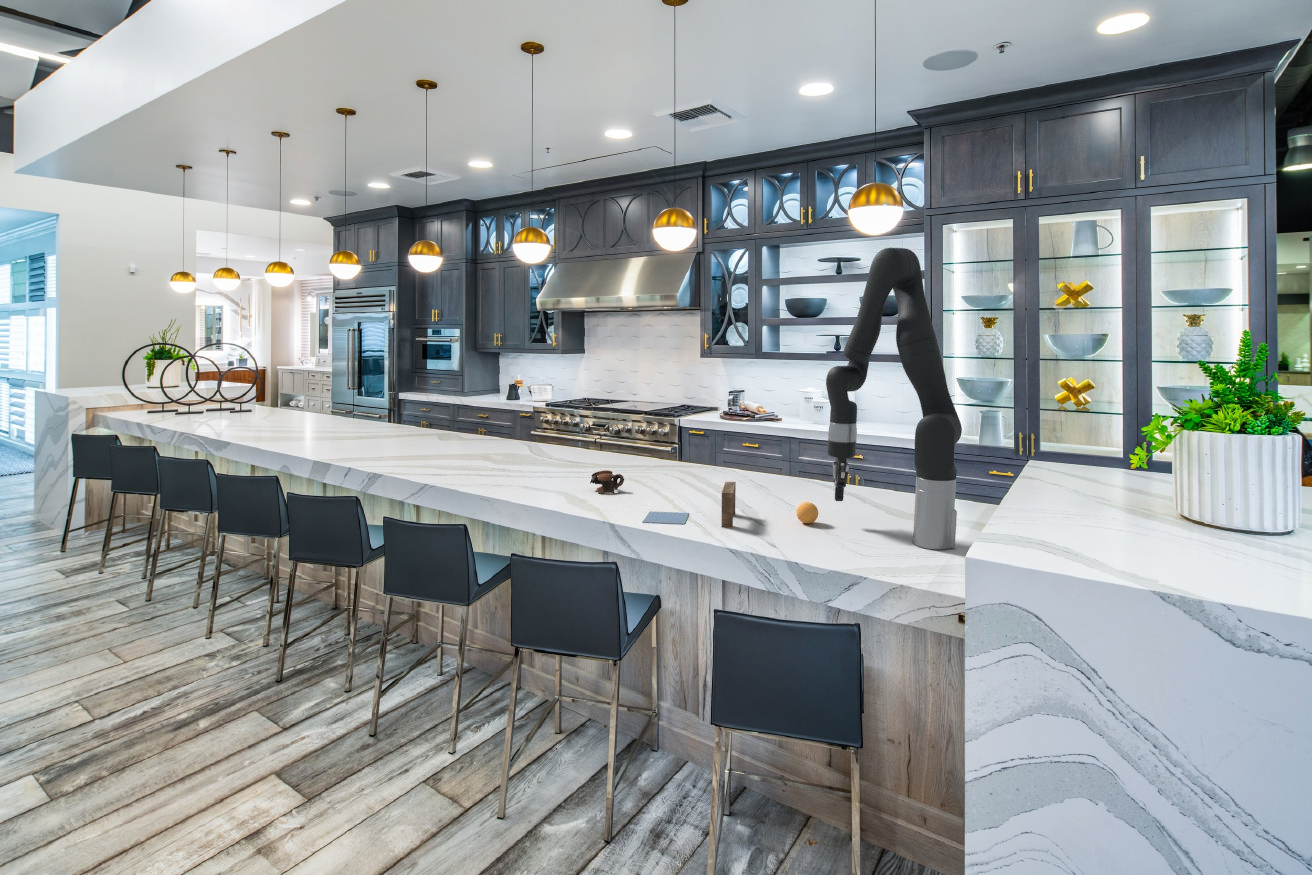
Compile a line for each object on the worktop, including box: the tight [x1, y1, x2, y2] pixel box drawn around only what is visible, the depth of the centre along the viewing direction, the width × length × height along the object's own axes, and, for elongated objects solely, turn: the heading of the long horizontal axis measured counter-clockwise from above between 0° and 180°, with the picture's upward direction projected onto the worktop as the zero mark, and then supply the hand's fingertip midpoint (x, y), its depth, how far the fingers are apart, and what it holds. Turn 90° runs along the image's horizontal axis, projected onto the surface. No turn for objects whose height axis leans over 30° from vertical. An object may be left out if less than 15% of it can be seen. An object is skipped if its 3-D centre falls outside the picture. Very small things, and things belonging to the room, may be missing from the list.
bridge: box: [721, 481, 737, 528], centre depth 195 cm, size 3×15×10 cm, turn 171°
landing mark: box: [641, 510, 690, 525], centre depth 199 cm, size 12×12×1 cm
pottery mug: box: [589, 469, 625, 495], centre depth 235 cm, size 12×10×8 cm
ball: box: [796, 501, 819, 525], centre depth 192 cm, size 6×6×6 cm
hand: (838, 500), depth 190 cm, fingers closed
